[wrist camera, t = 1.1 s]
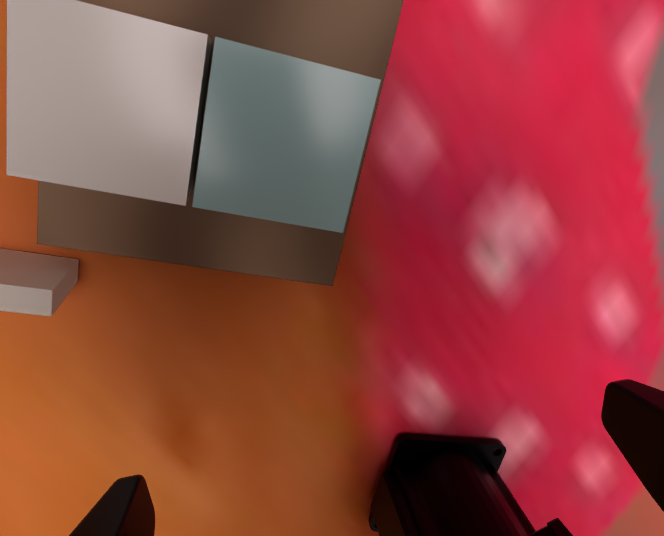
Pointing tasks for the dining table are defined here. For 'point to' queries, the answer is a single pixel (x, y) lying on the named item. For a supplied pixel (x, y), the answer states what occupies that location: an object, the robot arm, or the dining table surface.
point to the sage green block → (281, 137)
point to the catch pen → (35, 281)
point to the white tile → (103, 99)
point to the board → (186, 221)
